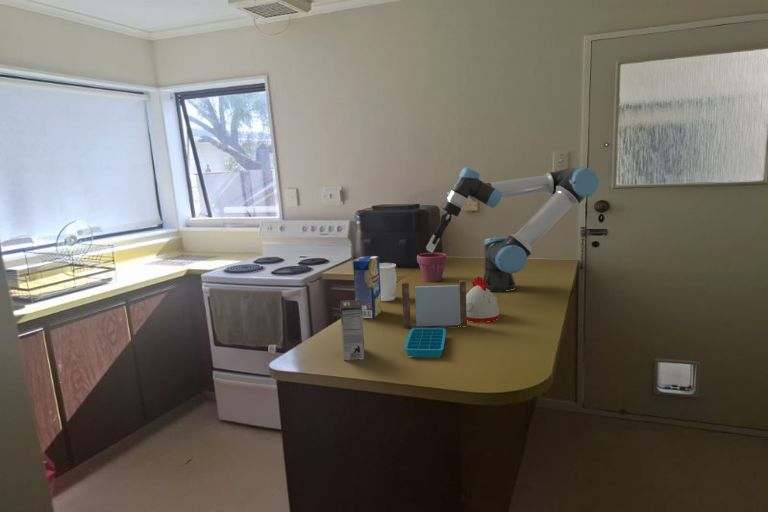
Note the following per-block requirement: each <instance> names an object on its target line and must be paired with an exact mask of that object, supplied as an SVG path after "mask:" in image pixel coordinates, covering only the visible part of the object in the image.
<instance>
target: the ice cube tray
mask: <svg viewBox="0 0 768 512" xmlns="http://www.w3.org/2000/svg"><path fill="white" fill-rule="evenodd" d="M446 334H447V328H413V329H409V332H408V336H407V338H406V341H405V344H404V347H403V350H404V351H406V356H407V355H408V356H413V357H412V358H432V357H438V358H440V356H441V357H442V351H444V347H445V341H446ZM408 356H407V357H408ZM414 356H415V357H414Z"/></svg>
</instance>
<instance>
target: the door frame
mask: <svg viewBox="0 0 768 512" xmlns="http://www.w3.org/2000/svg"><path fill="white" fill-rule="evenodd" d="M458 284H459V318H460V325H448V326H416V324H412V323H411V305H410V304H411V299H410V298H411V297H410V282H409V281H402V282H401V294H402V295H401V296H402V320H403V329H405V330H409V329H408V328H444V329H447V328H446V327H458V326H459V327H460V326H461V327H463V326H467V324H468V323H467V322H468V321H467V312H466V295H467V280H465V279H459V283H458ZM467 327H468V326H467ZM406 328H407V329H406ZM463 328H464V327H463Z"/></svg>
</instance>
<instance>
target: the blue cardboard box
mask: <svg viewBox="0 0 768 512" xmlns="http://www.w3.org/2000/svg"><path fill="white" fill-rule="evenodd" d="M379 263H380V256H378V255H377V256H376V255H362V256H360V257H358V258H356V259H354V260H352V266H353V267H352V268H353V282H354V283H353V287H354V300H361V305H362V316H363V318H374V319H376V317H377V316H379V314H380V313H382V311H383V310H382V301H381V287H380V267H379Z"/></svg>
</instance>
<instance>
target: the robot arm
mask: <svg viewBox="0 0 768 512" xmlns="http://www.w3.org/2000/svg"><path fill="white" fill-rule="evenodd" d="M480 177H481V175H480V173H479V172H477V171H476V170H475V169H472V168H470V167H469V166H468V167H466V166H465V167H463V168H462V170H461V171H460V173H459V174H458V176H457V178H456V180H455V182H454V184H453V186H452V187H451V190H450V191H448V192H447V196H446V197H447V198H446V200H445V201H444V202H443V205H442V206H441V209H442V210H444V212H445V213H443V214H442V215H441V217H440V220H439V222H438V225H437V227H436V229H435V230H434V232H433V233H432V236H431V238H429V242H428V243H427V245H426V246H425V248H426V251H428V252H429V253H434V250H435V249H436V247H437V245H438V243H439V242H440V240H441V238H442V237H443V234H444V232H445V230H446V228H447V227H448V225H449V224H450V223H451V222H452V215H453V216H455V217H459V215H460V213H461V211H462V208H464V206H465V204H466V203H467V201H468V199H470V200H471V201H473V202H477V203H480V204H484V205H485V206H487V207H490V208H492V209H493V208H496V207H497V206H498V205H499V203H500V201H501V200H503V199H508V198H517V197H523V196H533V195H539V194H547V195H549V196H550V195H552V196H550V198H549V199H547V201H546V202H544V204H543V205H542V206H541V207H540V208H539V209H538V210H537V211H536V212H535V213H534V214H533V215H532V217H530V219H529V220H528V221H527V222H525V224H524V225H523V226H522V227H521V228H520V229H519V230H518V231H517V232H516V233H514V234H509V235H508V236H507V237H505V236H504V237H503V236H501V237H490V238H486V239H484V244H483V247H484V274H483V277H482V280H483V279H485V283H488V285H487V289H488V290H490V291H506V290H511V289H514V288H515V287H516V285H517V283H516V281H515V277H514V275H513V274H516V273H518V272H520V271H521V270H522V269H523V268H525V266H526V264H527V259H528V258H529V257H530V256H531V255H532V248H533V247H534V246H535V245H536V244H537V243H538V242H539V241H540V240H541V239H542V238H543V237H544V235H546V233H547V232H548V231H549V230H551V228H552V227H553V226H554V225H556V223H557V222H559V220H560V218H562V216H564V215H565V214H566V213H567V212H568V211H569V210H570V209H571V207H573V206H578V205H580V204H581V202H583V200H584V199H585V198H589V197H592V196H593V195H595V194H596V192H597V191H598V189H599V187H600V178H599V176H598V174H597V173H596V172H595V170H593V169H592V168H589V167H584V166H583V167H582V166H580V167H568V168H563V169H560V170H555V171H551V172H549V171H548V172H546V173H545V175H538V176H537V175H536V176H528V177H523V178H515V179H514V178H513V179H507V180H499V181H491V182H484V181H482V180H481V179H480ZM516 288H517V287H516Z"/></svg>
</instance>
